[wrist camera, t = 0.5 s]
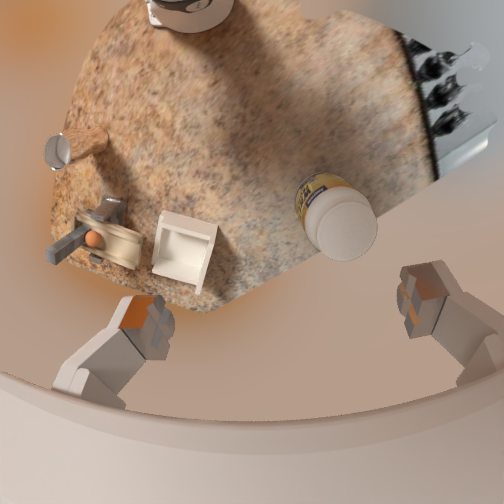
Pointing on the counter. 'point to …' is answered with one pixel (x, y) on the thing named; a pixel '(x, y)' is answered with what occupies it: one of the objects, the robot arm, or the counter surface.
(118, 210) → the fulcrum
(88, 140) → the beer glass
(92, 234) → the ball
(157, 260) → the cream open-top tray
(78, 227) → the lever
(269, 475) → the robot arm
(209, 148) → the counter surface
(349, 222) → the supplement tub
